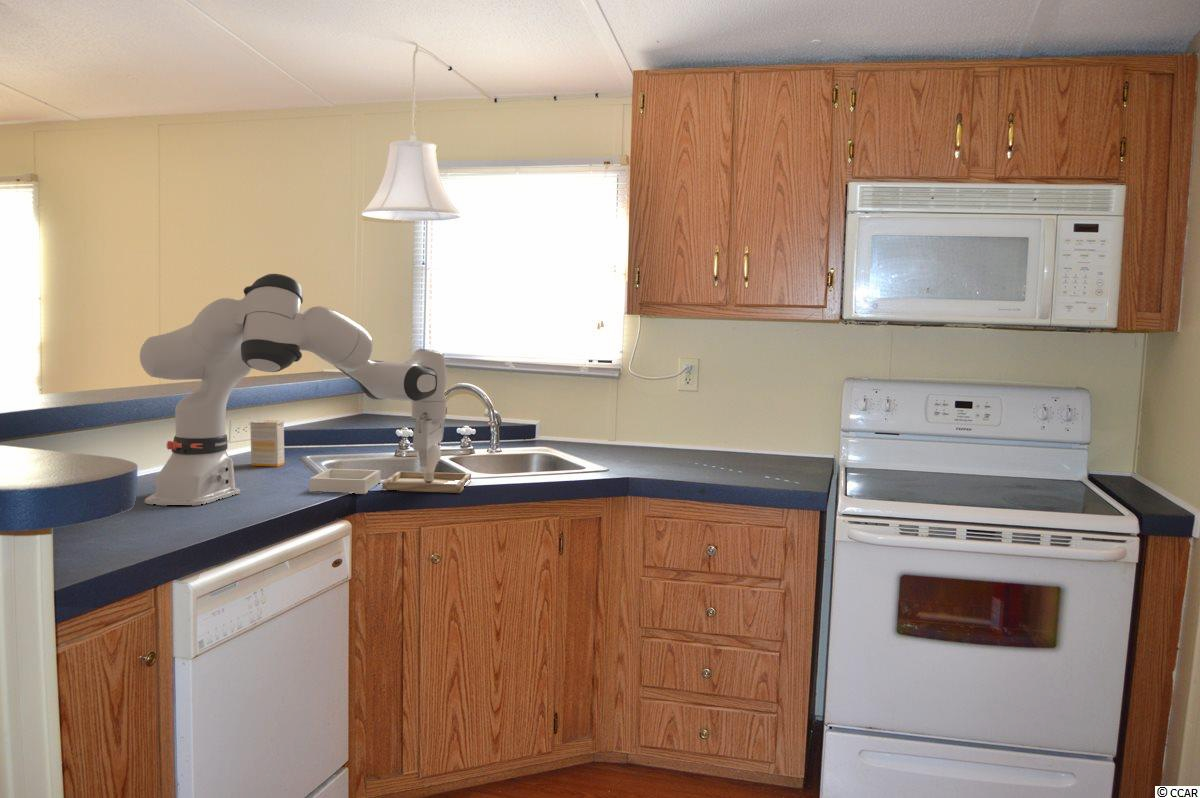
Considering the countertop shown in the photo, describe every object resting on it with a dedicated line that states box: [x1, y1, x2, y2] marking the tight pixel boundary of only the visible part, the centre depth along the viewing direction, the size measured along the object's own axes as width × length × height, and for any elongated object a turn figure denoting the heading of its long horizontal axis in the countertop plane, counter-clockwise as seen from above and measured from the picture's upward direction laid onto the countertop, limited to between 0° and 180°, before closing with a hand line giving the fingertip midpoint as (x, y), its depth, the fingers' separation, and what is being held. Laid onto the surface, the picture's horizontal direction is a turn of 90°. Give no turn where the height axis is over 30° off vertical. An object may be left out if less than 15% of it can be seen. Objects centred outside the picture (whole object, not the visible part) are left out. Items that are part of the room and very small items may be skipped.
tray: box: [381, 470, 472, 494], centre depth 230 cm, size 16×20×2 cm
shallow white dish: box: [309, 468, 382, 495], centre depth 224 cm, size 14×14×4 cm
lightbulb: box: [416, 444, 442, 483], centre depth 230 cm, size 6×6×11 cm
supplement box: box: [249, 419, 285, 468], centre depth 252 cm, size 8×5×13 cm, turn 84°
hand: (428, 463), depth 229 cm, fingers open, 8 cm apart
